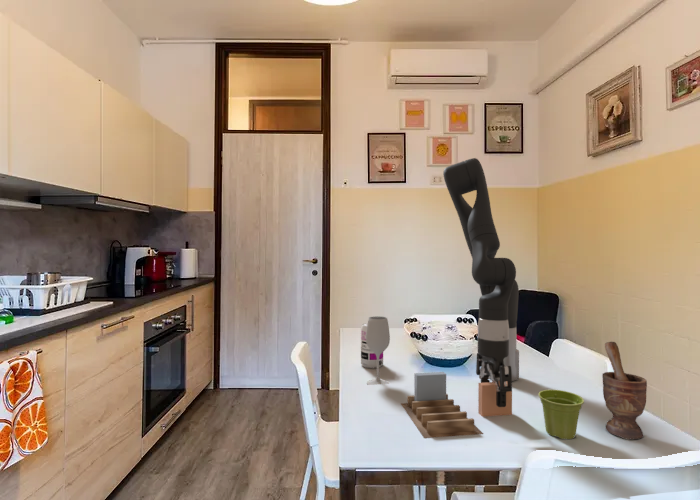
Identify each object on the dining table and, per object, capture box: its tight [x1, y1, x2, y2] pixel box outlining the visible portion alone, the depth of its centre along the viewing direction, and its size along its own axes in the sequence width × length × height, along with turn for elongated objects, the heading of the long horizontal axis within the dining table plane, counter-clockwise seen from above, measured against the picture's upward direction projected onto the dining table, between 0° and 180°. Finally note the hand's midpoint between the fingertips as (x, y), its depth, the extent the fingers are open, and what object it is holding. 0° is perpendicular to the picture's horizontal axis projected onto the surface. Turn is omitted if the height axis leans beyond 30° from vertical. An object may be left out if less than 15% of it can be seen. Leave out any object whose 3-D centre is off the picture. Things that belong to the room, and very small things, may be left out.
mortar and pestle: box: [601, 341, 648, 441], centre depth 96 cm, size 12×9×20 cm
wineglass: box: [366, 316, 391, 386], centre depth 129 cm, size 8×8×21 cm
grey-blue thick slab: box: [413, 371, 447, 401], centre depth 107 cm, size 8×2×9 cm, turn 98°
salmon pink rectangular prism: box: [477, 381, 513, 417], centre depth 103 cm, size 8×2×9 cm, turn 98°
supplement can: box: [360, 322, 384, 369], centre depth 149 cm, size 8×8×15 cm
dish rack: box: [400, 393, 484, 439], centre depth 101 cm, size 14×20×4 cm
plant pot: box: [538, 389, 585, 440], centre depth 94 cm, size 9×9×9 cm
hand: (492, 400), depth 103 cm, fingers open, 8 cm apart
